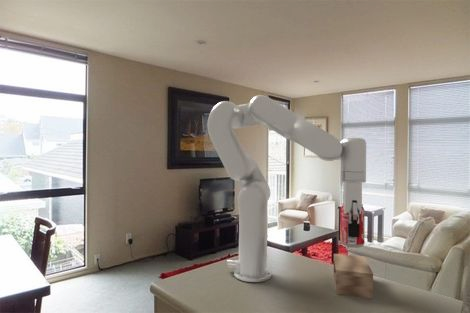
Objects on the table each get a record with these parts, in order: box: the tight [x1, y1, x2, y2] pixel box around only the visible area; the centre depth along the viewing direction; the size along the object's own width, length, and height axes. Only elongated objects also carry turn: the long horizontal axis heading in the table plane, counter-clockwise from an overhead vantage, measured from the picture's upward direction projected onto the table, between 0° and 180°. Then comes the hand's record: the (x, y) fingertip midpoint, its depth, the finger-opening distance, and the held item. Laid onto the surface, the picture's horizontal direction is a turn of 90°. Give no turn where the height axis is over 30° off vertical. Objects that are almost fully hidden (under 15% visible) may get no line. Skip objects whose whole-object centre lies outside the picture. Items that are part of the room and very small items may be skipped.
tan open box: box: [332, 253, 374, 299], centre depth 98 cm, size 10×16×7 cm, turn 165°
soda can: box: [339, 202, 366, 249], centre depth 98 cm, size 7×7×13 cm
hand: (352, 233), depth 98 cm, fingers closed on soda can, 6 cm apart
